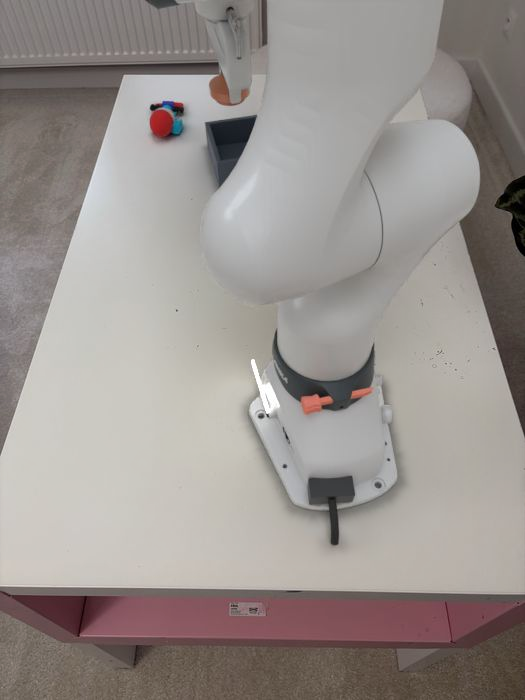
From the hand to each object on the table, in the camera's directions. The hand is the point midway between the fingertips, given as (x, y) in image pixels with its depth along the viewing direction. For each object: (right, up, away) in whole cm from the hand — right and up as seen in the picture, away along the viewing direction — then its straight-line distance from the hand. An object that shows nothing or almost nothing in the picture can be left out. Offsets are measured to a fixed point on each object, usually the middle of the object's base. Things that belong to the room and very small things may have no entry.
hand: (230, 87), depth 87 cm
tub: (+2, -6, +16) cm, 18 cm away
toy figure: (-15, +4, +24) cm, 29 cm away
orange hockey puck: (0, -1, +1) cm, 2 cm away
